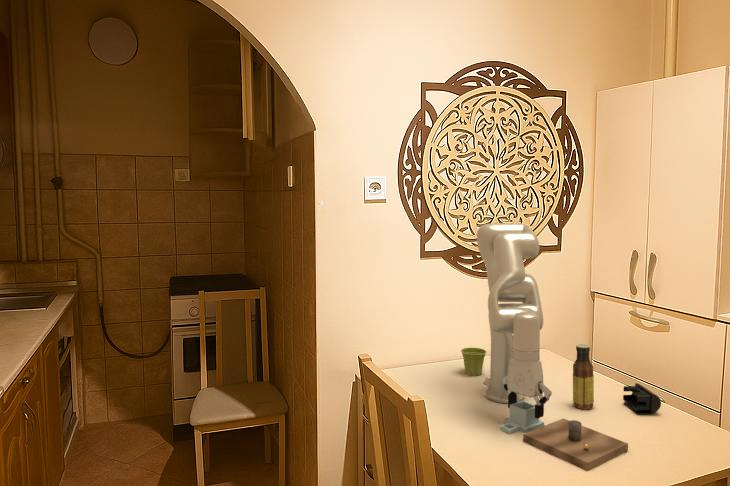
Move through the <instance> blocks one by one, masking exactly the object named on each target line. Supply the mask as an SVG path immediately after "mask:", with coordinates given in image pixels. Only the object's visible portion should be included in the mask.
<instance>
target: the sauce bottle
mask: <svg viewBox="0 0 730 486" xmlns="http://www.w3.org/2000/svg"><path fill="white" fill-rule="evenodd" d="M575 350H576V359H575V361H574V362H573V364H572V402H573V404H572V405H574V407H576V408H577V409H580V410H591V409H593V408H594V401H595V395H594V393H595V386H594V384H595V383H594V382H595V380H594V379H595V378H594V377H595V376H594V366H593V364H592V362H591V360H590V351H591V348H590V345H589V344H582V343H581V344H577V345H575Z"/></svg>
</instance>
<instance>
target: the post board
mask: <svg viewBox="0 0 730 486" xmlns="http://www.w3.org/2000/svg"><path fill="white" fill-rule="evenodd" d="M522 441H523V442H524V443H527V444H529V445H532V446H533V447H535V448H538V449H540V450H542V451H545V452H546V453H548V454H551V455H553V456H555V457H556V458H559V459H561V460H564V461H566V462H568V463H570V464H573V466H574V465H575V466H577V467H578V468H581V469H583V470H586V471H589V470H591V469H594V468H596V467H598V466H600V465H603V464H604V463H606V462H609V461H610V460H613V459H614V458H616V457H618V456H620V455H623V454H624V453H626V452H628V451H629V443H627V442H625V441H622V440H620V439H618V438H615V437H613V436H609V435H607V434H605V433H603V432H599V431H597V430H594V429H593V428H590V427H586V426H584V425H582V422H581V421H579V420H574V419H572V420H569V419H566V418H561V419H558V420H556V421H553V422H550V423H548V424H544V426H541V427H539V428H536V429H534V430H531V431H529V432H524V433H523V434H522ZM584 443H587V444H589V450H588V451H585V450H584Z"/></svg>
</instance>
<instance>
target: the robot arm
mask: <svg viewBox="0 0 730 486" xmlns="http://www.w3.org/2000/svg"><path fill="white" fill-rule="evenodd" d="M476 243H477V247H478V250H479V254H480V256H481V258H482V260H483V263H484V265H485V268H486V276H487V286H488V291H489V293H488V296H487V297H488V298H487V308H488V325H489V329H490V330H489V331H490V332H489V333H490V372H489V373H490V374H489V376H490V377H485V378H484V380H483V381H482V384H483V385H484V386H487V389H486V390H485V393H484V394H485V397H486V399H488V400H490V401H492V402H495V403H500V404H507V408H508V409H510V405H511V404H514V403H517V402H519V401H522V400H524V399H525V397H528V398H533V400H534V402H535V403H536V404H534V405H535V418H539V419H540V418H542V417H544V413H545V404H546V403H547V402H548V401H549V400H550V397H551V396H552V394H553V392H552V390H550V389H549V388H548V387H547V386H546V385H545V384H544V371H543V370H544V369H543V365H542V360H541V361H540V358H541V357H540V343H541V337H540V336H541V335H540V334H541V330H542V329H543V325H544V315H543V308H542V303H541V298H540V297H541V296H540V291H539V288H538V283H537V280H536V279H535V277H534V276H533V275H531V274H528V273H526V270H525V265H524V264H525V263H524V259H534V258H535V259H536V257H537V256H538V255H539V253H540V242H539V238H538V236H537V234H536V233H535V231H533V230H532V228H530V227H529V225H528V224H526V223H519V222H515V223H514V222H511V223H509V222H506V223H504V222H501V223H500V222H499V223H497V222H495V223H493V222H492V223H485V224H483V225H481V226H480V227H479V228H478V230H477V232H476ZM543 394H544V395H543Z"/></svg>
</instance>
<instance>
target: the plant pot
mask: <svg viewBox="0 0 730 486" xmlns="http://www.w3.org/2000/svg"><path fill="white" fill-rule="evenodd" d="M460 351H461V354H462V357H463V364H464V365H463V366H464V372H466V373H467V375H469V374H470V375H469V376H475V375H476V376H479V375H480V374H481V375H482V373H483V366H484V361H485V357H486V354H487V350H486V349H484V348H480V347H464V348H462V349H460ZM466 373H465V374H466Z"/></svg>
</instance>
